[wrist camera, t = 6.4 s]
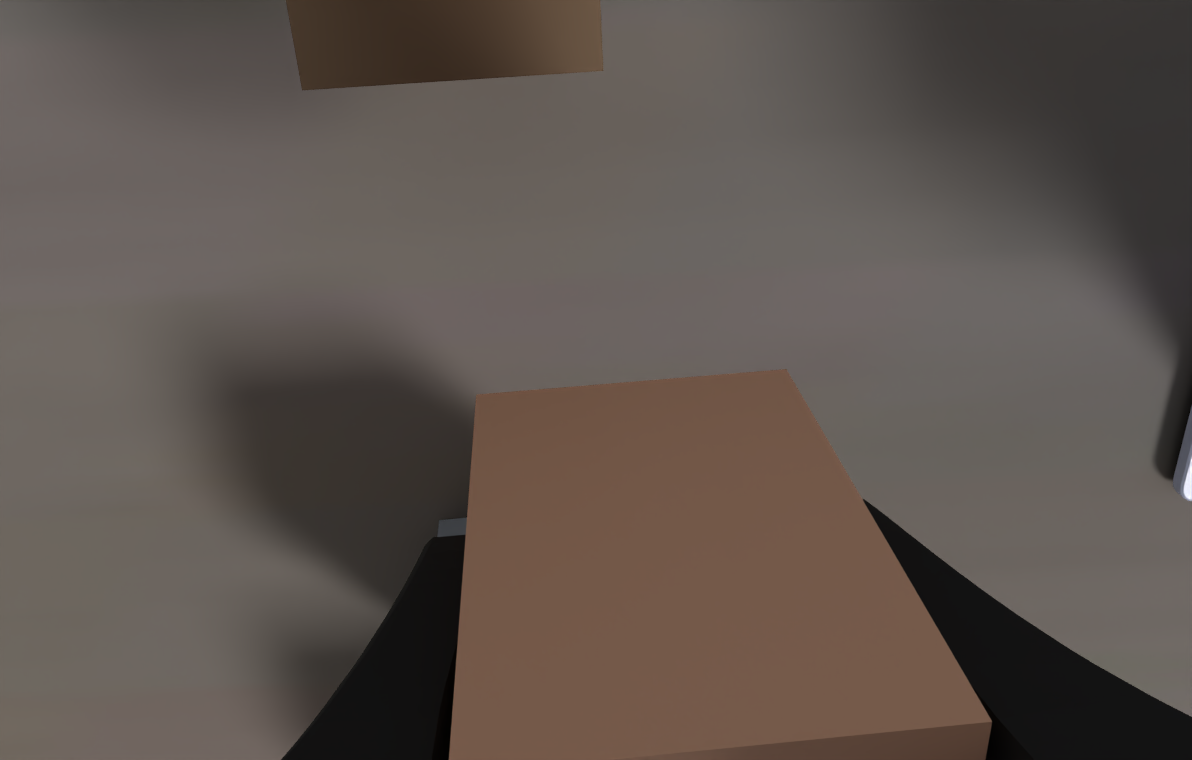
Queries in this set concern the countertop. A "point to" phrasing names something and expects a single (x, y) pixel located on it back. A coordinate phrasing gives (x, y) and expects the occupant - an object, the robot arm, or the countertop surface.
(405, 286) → the countertop surface
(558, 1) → the walnut block
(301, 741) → the robot arm
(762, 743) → the terracotta block
